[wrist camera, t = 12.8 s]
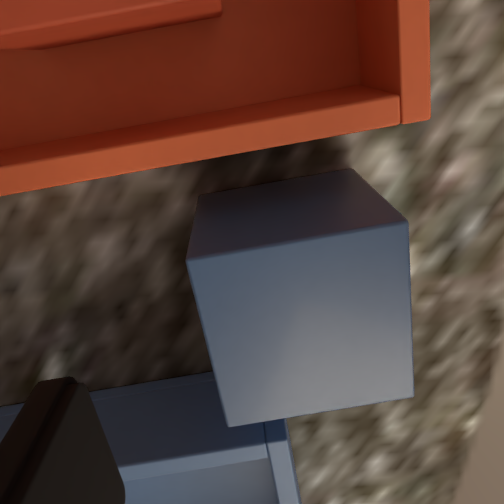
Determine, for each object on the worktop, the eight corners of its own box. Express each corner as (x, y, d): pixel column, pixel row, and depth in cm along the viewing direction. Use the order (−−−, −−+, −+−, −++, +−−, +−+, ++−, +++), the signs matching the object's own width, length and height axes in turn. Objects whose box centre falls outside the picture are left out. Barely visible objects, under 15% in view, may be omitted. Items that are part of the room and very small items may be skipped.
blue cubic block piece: (227, 325, 15) (227, 429, 11) (198, 194, 13) (183, 259, 9) (364, 302, 15) (415, 398, 11) (353, 167, 13) (409, 220, 9)
